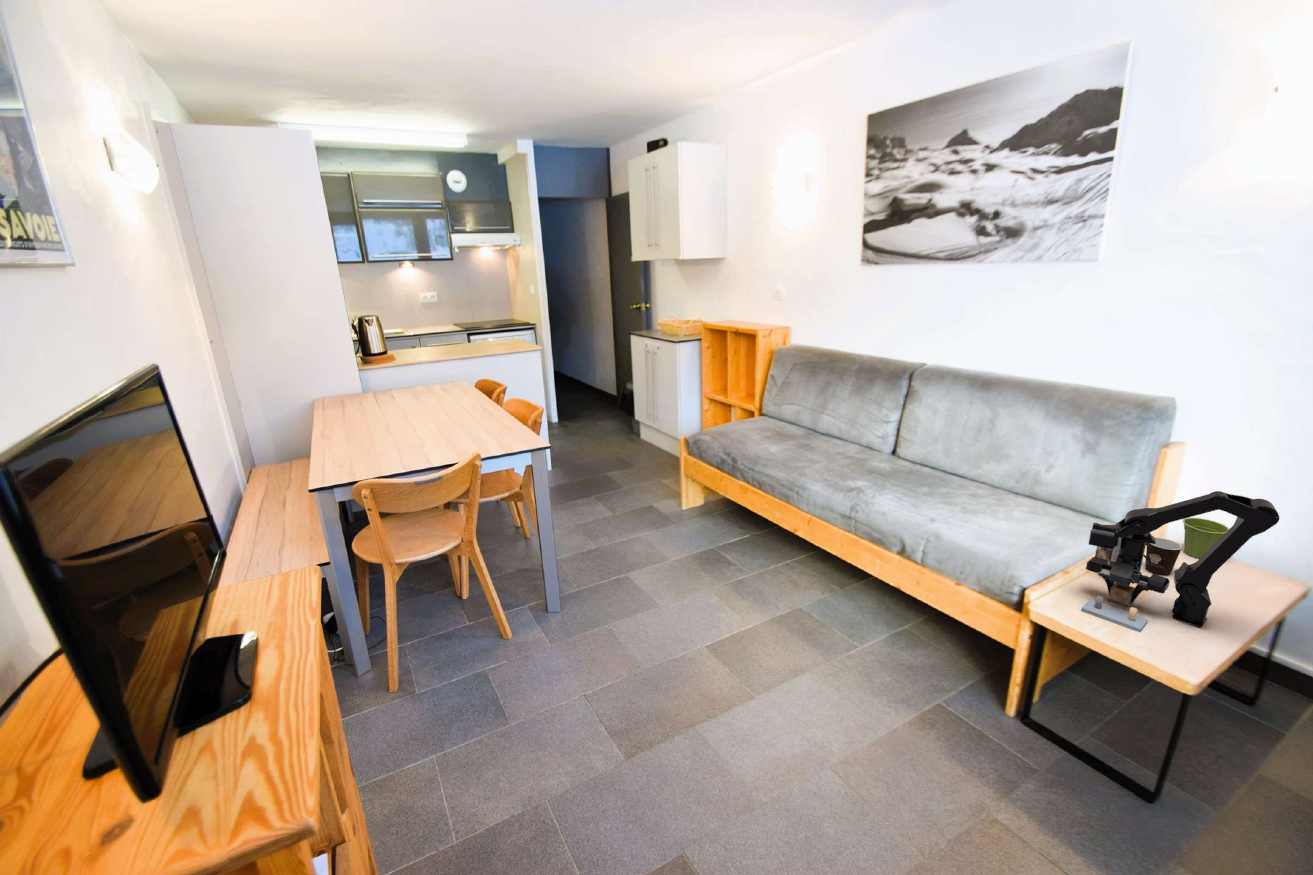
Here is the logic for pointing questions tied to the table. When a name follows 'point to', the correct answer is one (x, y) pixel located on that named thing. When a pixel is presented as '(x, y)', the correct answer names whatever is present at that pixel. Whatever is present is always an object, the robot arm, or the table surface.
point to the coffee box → (1108, 552)
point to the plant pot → (1201, 535)
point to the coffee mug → (1161, 556)
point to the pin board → (1115, 614)
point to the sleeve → (1121, 595)
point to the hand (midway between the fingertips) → (1121, 599)
